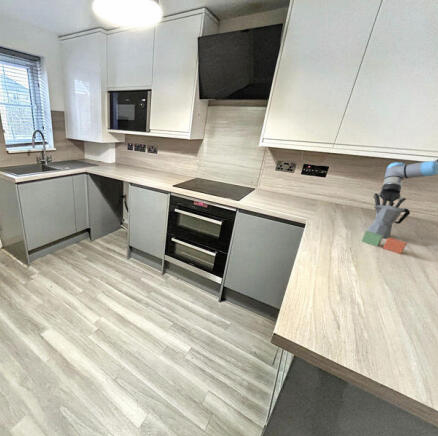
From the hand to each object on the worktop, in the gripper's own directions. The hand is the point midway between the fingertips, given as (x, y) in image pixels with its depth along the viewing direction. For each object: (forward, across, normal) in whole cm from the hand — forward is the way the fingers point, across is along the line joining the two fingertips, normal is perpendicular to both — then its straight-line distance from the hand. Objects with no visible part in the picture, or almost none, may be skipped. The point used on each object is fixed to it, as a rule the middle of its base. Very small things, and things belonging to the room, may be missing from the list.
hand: (383, 222), depth 126 cm
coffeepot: (+7, 0, -2) cm, 8 cm away
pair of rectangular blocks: (+21, +1, +13) cm, 25 cm away
